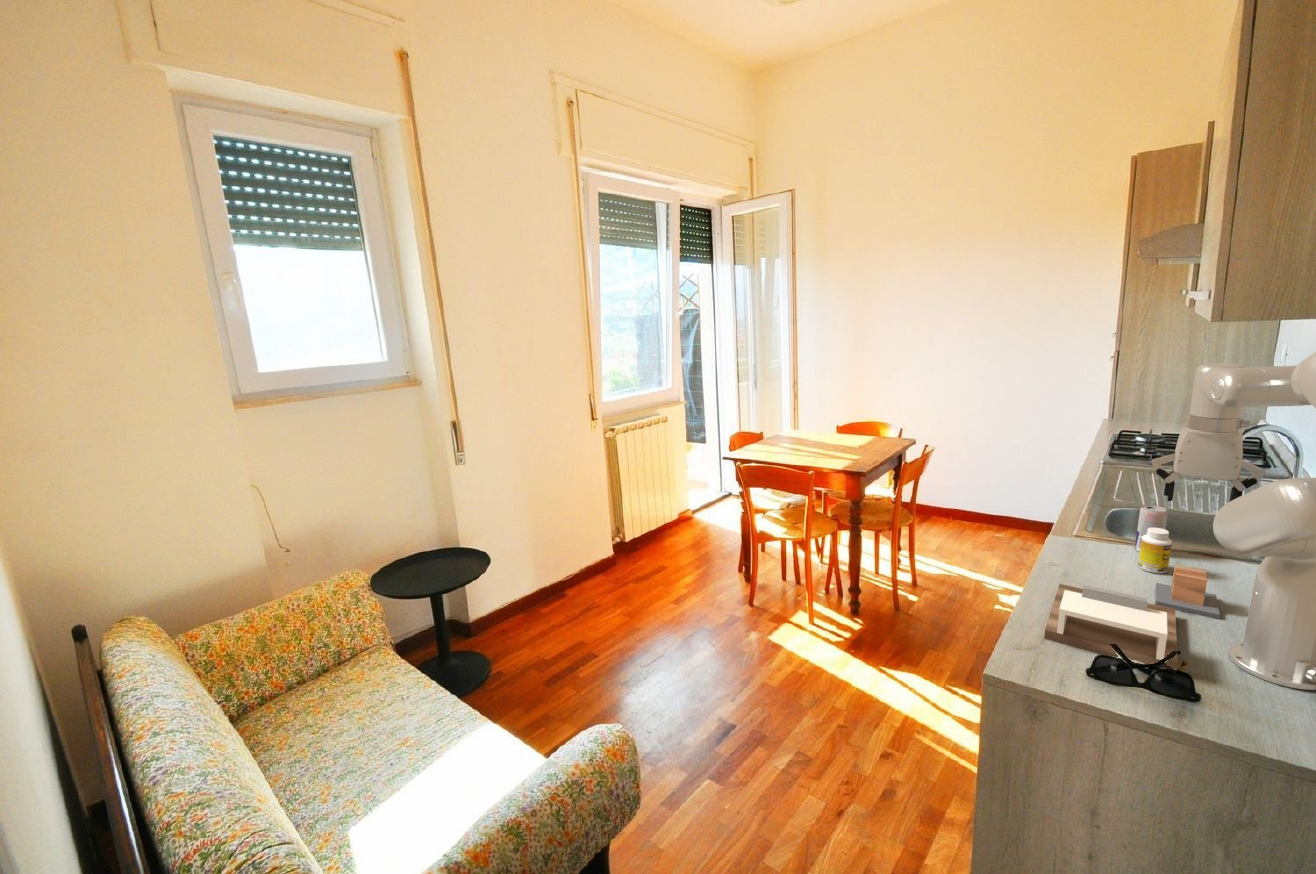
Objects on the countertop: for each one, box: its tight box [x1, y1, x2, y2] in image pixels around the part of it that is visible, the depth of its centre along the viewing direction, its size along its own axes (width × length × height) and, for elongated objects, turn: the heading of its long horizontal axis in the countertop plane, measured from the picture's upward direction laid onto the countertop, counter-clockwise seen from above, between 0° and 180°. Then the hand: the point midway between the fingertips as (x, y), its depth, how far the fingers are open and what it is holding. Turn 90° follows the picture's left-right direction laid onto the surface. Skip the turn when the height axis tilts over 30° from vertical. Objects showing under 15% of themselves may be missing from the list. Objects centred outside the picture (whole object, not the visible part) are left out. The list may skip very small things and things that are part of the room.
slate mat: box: [1155, 582, 1221, 620], centre depth 126 cm, size 10×10×1 cm
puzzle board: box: [1043, 583, 1179, 670], centre depth 118 cm, size 23×20×2 cm
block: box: [1171, 565, 1208, 606], centre depth 125 cm, size 5×5×6 cm
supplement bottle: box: [1137, 528, 1173, 574], centre depth 139 cm, size 6×6×10 cm
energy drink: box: [1134, 504, 1168, 553], centre depth 148 cm, size 5×5×12 cm
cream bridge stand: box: [1057, 584, 1167, 660], centre depth 111 cm, size 9×16×7 cm, turn 50°
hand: (1200, 503), depth 121 cm, fingers open, 9 cm apart
